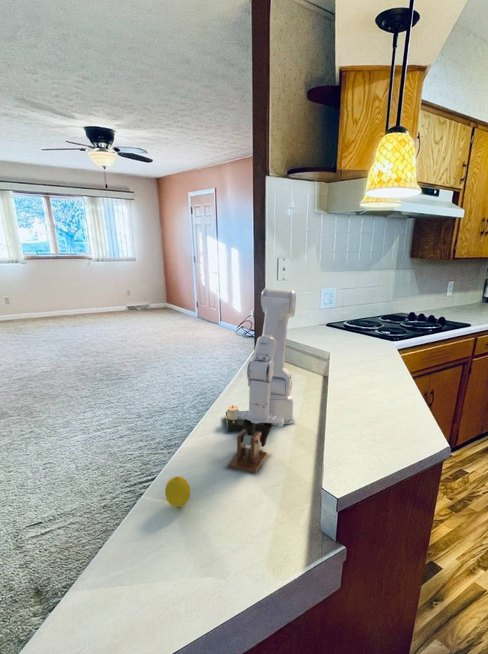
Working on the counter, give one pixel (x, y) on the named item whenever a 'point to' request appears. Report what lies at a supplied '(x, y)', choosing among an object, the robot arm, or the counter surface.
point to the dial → (231, 412)
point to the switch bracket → (248, 454)
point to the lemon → (177, 491)
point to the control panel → (238, 425)
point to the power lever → (249, 439)
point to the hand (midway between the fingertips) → (257, 444)
